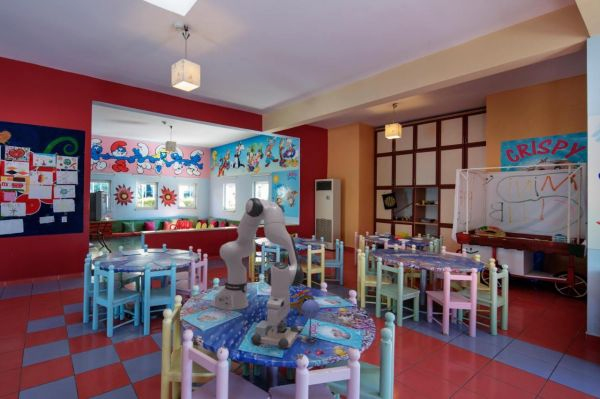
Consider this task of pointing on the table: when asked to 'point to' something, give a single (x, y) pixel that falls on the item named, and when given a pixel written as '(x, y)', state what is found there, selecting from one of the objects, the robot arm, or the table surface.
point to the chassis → (274, 335)
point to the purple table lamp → (310, 311)
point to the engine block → (281, 327)
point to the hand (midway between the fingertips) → (279, 328)
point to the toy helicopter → (301, 300)
